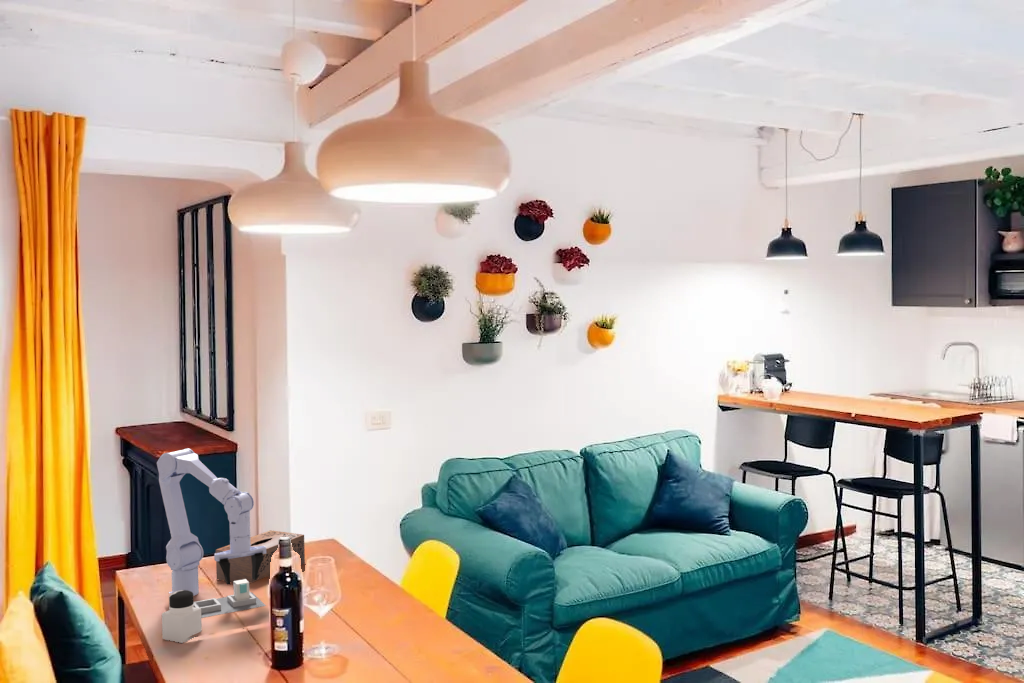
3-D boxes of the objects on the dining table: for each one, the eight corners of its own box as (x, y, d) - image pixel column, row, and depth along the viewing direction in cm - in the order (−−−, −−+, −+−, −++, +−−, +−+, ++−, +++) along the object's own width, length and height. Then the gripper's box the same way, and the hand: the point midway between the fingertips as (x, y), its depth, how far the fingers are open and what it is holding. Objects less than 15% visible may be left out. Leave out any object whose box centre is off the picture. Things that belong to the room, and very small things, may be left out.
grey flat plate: (182, 608, 262) (182, 599, 262) (252, 595, 272) (252, 587, 272) (194, 622, 250) (193, 613, 250) (265, 609, 261) (265, 600, 260)
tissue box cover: (251, 586, 282) (251, 554, 281) (216, 580, 288) (215, 549, 288) (304, 564, 305) (304, 534, 305) (271, 558, 311) (270, 530, 311)
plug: (233, 601, 264) (233, 581, 264) (246, 599, 266) (245, 579, 266) (237, 605, 261) (237, 585, 261) (250, 603, 263) (249, 582, 262)
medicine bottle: (202, 634, 242) (201, 590, 241) (182, 643, 235) (181, 598, 234) (182, 630, 245) (181, 586, 244) (161, 639, 238) (160, 594, 237)
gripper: (218, 542, 256) (219, 589, 256) (268, 534, 263) (270, 580, 264) (211, 536, 262) (213, 583, 262) (261, 529, 269) (263, 574, 270)
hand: (241, 581), depth 263 cm, fingers open, 7 cm apart
